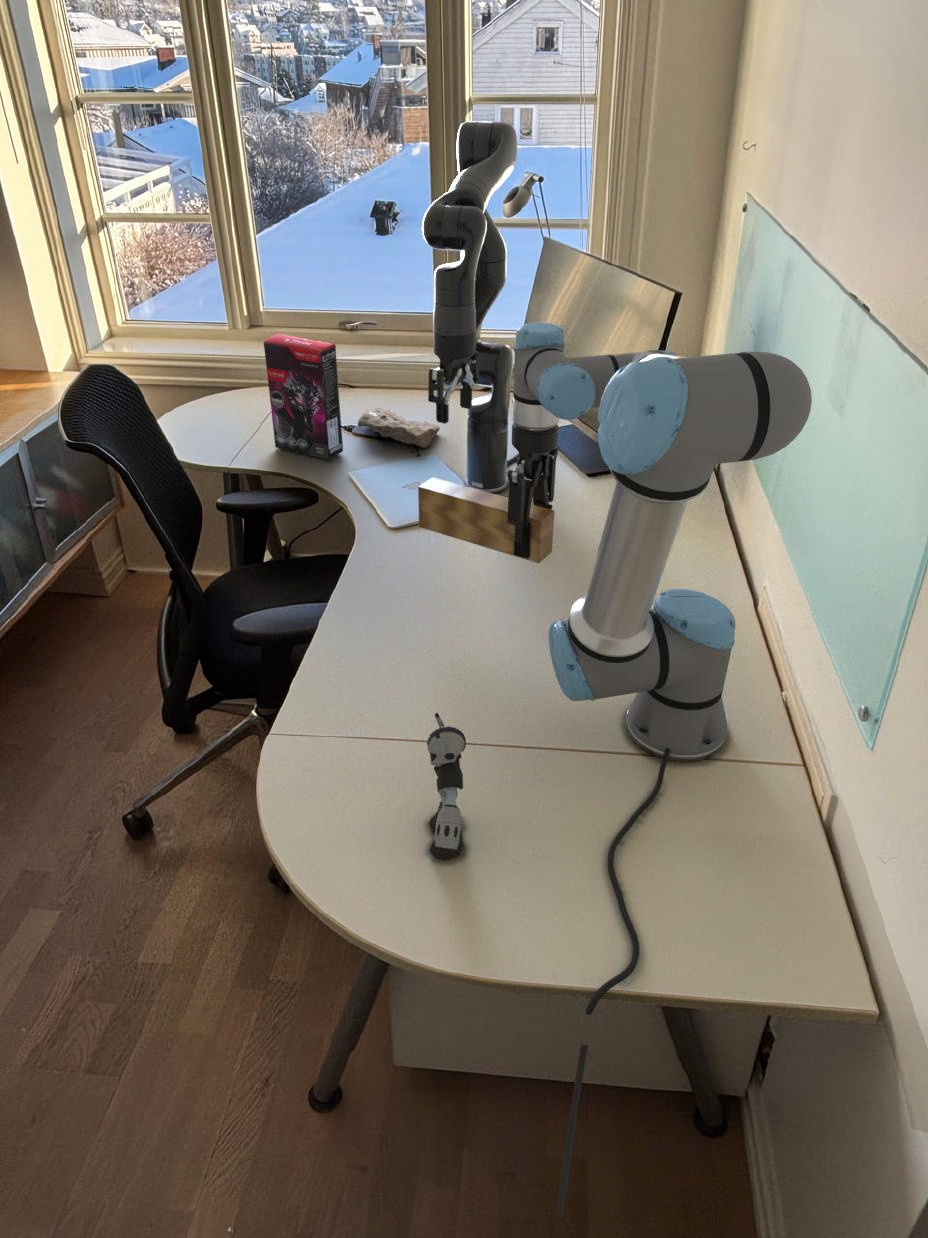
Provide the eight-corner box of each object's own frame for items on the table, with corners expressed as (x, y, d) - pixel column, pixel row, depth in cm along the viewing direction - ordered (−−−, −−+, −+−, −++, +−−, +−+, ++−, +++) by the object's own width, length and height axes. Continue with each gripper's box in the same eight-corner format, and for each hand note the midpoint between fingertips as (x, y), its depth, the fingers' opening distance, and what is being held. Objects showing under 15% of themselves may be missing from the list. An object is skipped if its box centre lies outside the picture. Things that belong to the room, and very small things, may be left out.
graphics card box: (273, 448, 231) (260, 339, 216) (289, 438, 236) (278, 332, 221) (329, 461, 225) (320, 351, 210) (345, 451, 230) (337, 342, 215)
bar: (551, 552, 162) (554, 510, 158) (539, 563, 159) (541, 521, 154) (433, 517, 173) (432, 477, 169) (419, 527, 170) (418, 486, 165)
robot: (468, 894, 116) (470, 778, 105) (429, 895, 116) (427, 779, 105) (461, 784, 133) (462, 674, 121) (427, 785, 132) (425, 675, 121)
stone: (342, 431, 232) (346, 408, 230) (364, 423, 246) (368, 401, 243) (419, 455, 229) (424, 432, 226) (437, 445, 242) (442, 423, 240)
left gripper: (456, 314, 169) (456, 399, 178) (414, 334, 159) (416, 423, 168) (492, 320, 166) (490, 406, 175) (452, 341, 156) (452, 431, 165)
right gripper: (540, 401, 157) (534, 524, 169) (487, 435, 144) (484, 565, 157) (580, 410, 153) (571, 534, 166) (529, 445, 141) (523, 577, 153)
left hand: (454, 414), depth 172 cm, fingers open, 8 cm apart
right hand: (529, 549), depth 161 cm, fingers closed on bar, 5 cm apart
